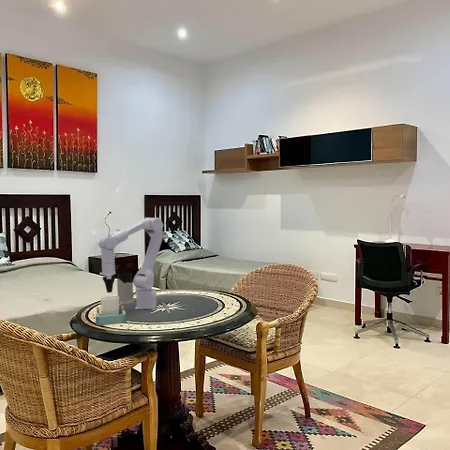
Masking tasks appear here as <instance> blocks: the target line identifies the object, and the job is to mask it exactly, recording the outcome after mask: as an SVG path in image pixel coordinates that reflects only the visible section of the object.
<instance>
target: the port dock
mask: <svg viewBox="0 0 450 450" xmlns="http://www.w3.org/2000/svg"><path fill="white" fill-rule="evenodd" d="M123 323H125V324H126V323H127V313H126V310H125V309H124V310H122V312H121V313H120V314H118V315H108V316H103V315H100V312H99V313H97V312H95V326H96V325H97V326H104V325H115V324H123Z"/></svg>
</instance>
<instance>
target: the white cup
mask: <svg viewBox="0 0 450 450" xmlns="http://www.w3.org/2000/svg"><path fill="white" fill-rule="evenodd" d="M100 306H101V309H100V310H101V316H108V315H118V314H119V313H120V303H119V296H118V295H105V296H102V297H100Z"/></svg>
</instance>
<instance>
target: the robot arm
mask: <svg viewBox="0 0 450 450" xmlns="http://www.w3.org/2000/svg"><path fill="white" fill-rule="evenodd" d="M163 227H164V223H163V221H162V220H161V218H159V217H144V218H143V219H139V221H137V222H134V223H133V224H132V225H130V226H129V227H127V228H125V229H124V228H116V231H114V232H112V233H109V234H107V236H102V237H101V238H100V239H99V241H98V246H99V248H100V250H101V251H100V252H101V253H100V255H101V272H99V275H101V276H102V281H103V282H104V284H105V289H106V293H107V294H109V293H113V288H114V283H115V280H116V276H115V275H117V273H116V265H115V264H116V263H115V262H116V261H115V260H116V259H115V248H116V246H118V245H119V244H121V243H123V242H125V241H126V240H128V239H129V236H130V235H132V234H135V233H137V232H139V231H141V230H144V231H145V232H146V233H147V234H148V235H149V237H150V240H149V243H148V246H147V250H146V253H145V256H144V260H143V263H142V266H141V268H140V269H139V270H138V271H137V272H136V274H137V275H136V274H135V275H136V276H135V275H134V277H133V278H132V282H133V287H135V291H136V293H135V294H136V295H135V296H136V306H135V307H134V310H152V309H156V307H157V289H155V288H153V286H154V284H155V281H154V280H155V279H154V278H155V274H154V272H153V270H154V267H155V264H156V260H157V258H158V254H159V251H160V247H161V245H162V242H163V238H164V235H163V233H164V232H163Z"/></svg>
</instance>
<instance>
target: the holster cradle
mask: <svg viewBox="0 0 450 450" xmlns="http://www.w3.org/2000/svg"><path fill="white" fill-rule="evenodd" d="M120 310H121V311H120V312H121V313H122V310H125V307H124V304H120ZM96 313H99V314H100V306H96Z"/></svg>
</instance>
